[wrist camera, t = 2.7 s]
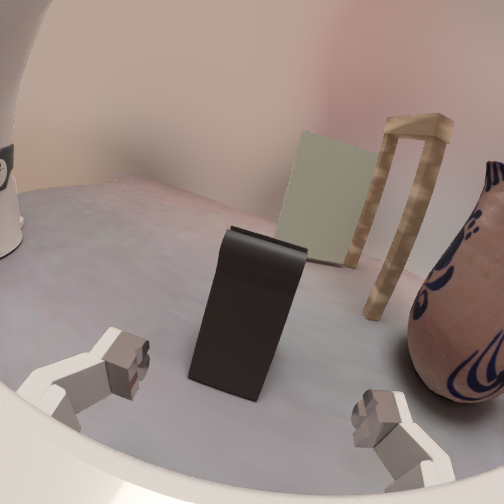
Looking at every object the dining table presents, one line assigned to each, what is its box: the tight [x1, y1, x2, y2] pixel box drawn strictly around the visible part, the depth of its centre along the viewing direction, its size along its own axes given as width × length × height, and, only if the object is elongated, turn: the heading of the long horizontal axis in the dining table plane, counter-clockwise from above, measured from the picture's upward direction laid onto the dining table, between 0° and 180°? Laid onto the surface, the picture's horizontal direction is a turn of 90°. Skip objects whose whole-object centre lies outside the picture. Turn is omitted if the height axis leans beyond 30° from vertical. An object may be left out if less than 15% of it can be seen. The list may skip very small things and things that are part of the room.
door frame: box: [344, 113, 454, 321], centre depth 40 cm, size 2×19×28 cm, turn 174°
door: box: [274, 130, 379, 264], centre depth 46 cm, size 3×13×20 cm, turn 94°
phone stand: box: [188, 226, 308, 401], centre depth 23 cm, size 9×6×12 cm, turn 166°
